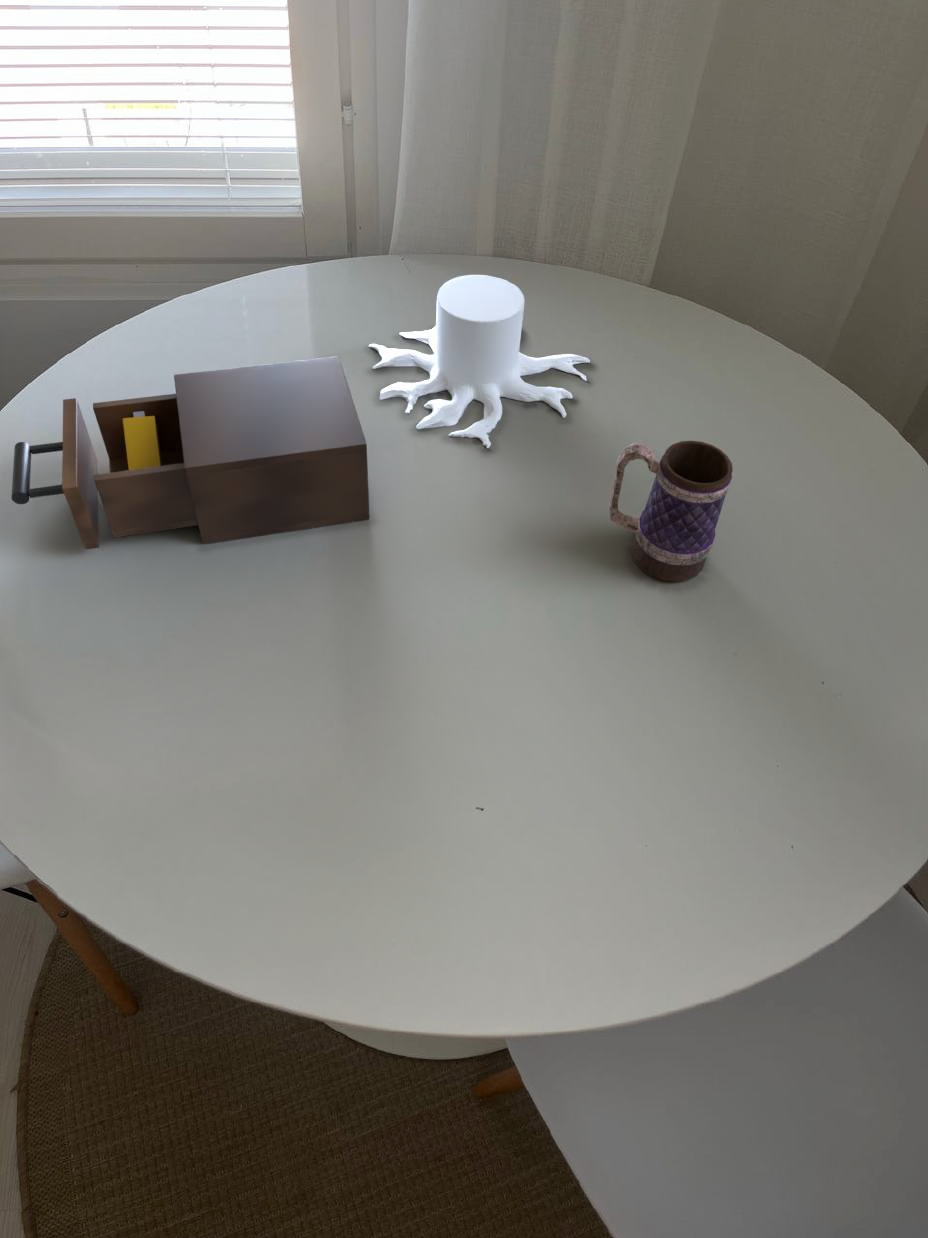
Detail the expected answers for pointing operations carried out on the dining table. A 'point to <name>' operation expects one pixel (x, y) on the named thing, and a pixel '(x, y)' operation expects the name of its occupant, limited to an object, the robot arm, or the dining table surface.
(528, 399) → the white tree stump
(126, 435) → the box cutter
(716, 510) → the mug
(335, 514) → the cabinet
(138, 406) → the drawer
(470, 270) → the dining table surface
